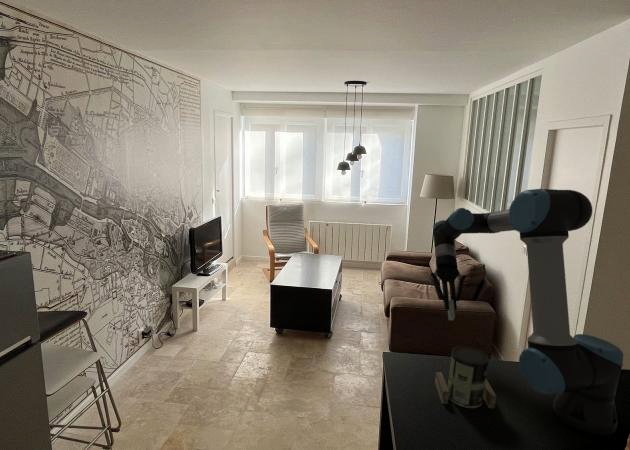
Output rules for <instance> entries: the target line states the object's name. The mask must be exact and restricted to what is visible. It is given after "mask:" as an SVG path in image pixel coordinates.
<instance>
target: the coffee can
mask: <svg viewBox="0 0 630 450" xmlns="http://www.w3.org/2000/svg"><path fill="white" fill-rule="evenodd" d="M489 362H490V357H489V355H488V354H486V352H484V351H482V350H480V349H478V348H476V347H472V346H466V345H464V346H463V345H460V346H455V347H453V348H452V349H451V358H450V366H449V373H448V383H447V387H448V390H449V397H448V400H450V401H451V402H452V403H453V404H455V405H457V406H459V407H461V408H466V409H477V408H480V407H481V406H482V405H483V402H484V401H483V400H484V398H483V395H484V388H485V381H486V379H487V374H488V373H487V372H488V365H489Z"/></svg>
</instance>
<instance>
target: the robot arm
mask: <svg viewBox="0 0 630 450" xmlns="http://www.w3.org/2000/svg"><path fill="white" fill-rule="evenodd" d="M592 216H593V205H592V202H591V200H590V199H589V198H588V197H587V196H586V195H585V194H583V193H581V192H580V191H577V190H574V189H552V188H551V189H549V188H535V189H526V190H523V191H521V192H520V193H519V194H517V195H516V196H515V197H514V200H513V199H512V201H511V204H510V206H509V208H508V209H503V210H498V211H497V210H496V211H492V212H491V211H490V212H485V213H483V212H482V213H476V212H475V213H473V212H472V211H470V210H469V209H466V208H465V207H459V208H456V210H455V211H453V212H451V214H450V215H449V216H448V217H447V218H446V219H445V220H444V219H442V220H438V221H436V222H435V223H434V224H433V228H432V229H433V231H432V236H433V243H434V255H435V272H431V273H430V274H429V279H430V280H431V281H432V284H433V287H434V290H435V293H436V295H437V299H438V300H439V301H442V303H443V304H444V310H445V311H447V316H448V321H453V322H454V320H455V318H456V314H455V312H456V310H457V309H458V306H457V302H459V301H461V299H462V295H463V287H464V282H465V280H466V279H467V275H465V274H461V273H460V270H459V269H458V259H457V252H456V250H457V249H456V242H455V241H456V240H457V239H458V238H459V237H460V236H461V235H462V234H464V235H465V234H497V233H501V232H510V231H516V232H518V233H519V239H520V241H522V243H524V244H525V246H526V253H527V266H528V281H529V293H530V294H529V295H530V304H531V306H530V307H531V318H532V319H531V320H532V323H531V324H532V334H530V335H529V336H528V337H527V338H526V339H527V348H526V349H523V350H522V351H521V353H520V354H519V358H518V363H519V368H520V372H521V374H522V376H523V378H524V379H525V381H526V382H527V383H528V384H529V386H530V387H531V388H533V390H535V391H536V392H538V393H541V394H544V395H556V396H555V397H554V399H553V404H552V408H553V411H554V413H555V414H556V415H557V416H558V417H559V418H560V419H561V420H562V421H563V422H565V423H566V424H568V425H570V426H571V427H573V428H575V429H578V430H580V431H582V432H585V433H589V434H592V435H598V436H608V435H612V434H614V433H615V432H616V431H617V428H618V423H619V422H618V420H619V419H618V414H617V410H616V403H615V397H616V393H617V389H618V385H619V380H620V376H621V373H622V368H623V366H624V364H623V362H624V353H623V351H622V349H621V348H619V347H618V346H617V345H615V344H614V343H612V342H609V341H607V340H606V339H603V338H599V337H596V336H592V335H590V334H583V333H577V334H574V336H572V335H571V329H570V317H569V306H568V294H567V291H568V290H567V282H566V269H565V256H564V243H565V242H566V241H567V240H568V239H569V238H570V235H569V232H572V231H577V230H579V229H581V228H583V227H585V226H586V225H587V224H588V223H589V222H590V220H591V218H592ZM457 278H458V286H457V291H456V284H455V282H456V279H457ZM439 280H440V281H441V285H442V287H441V285H440V282H439ZM448 285H449V287H448ZM449 294H450V296H449Z"/></svg>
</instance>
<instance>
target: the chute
mask: <svg viewBox="0 0 630 450" xmlns="http://www.w3.org/2000/svg"><path fill="white" fill-rule="evenodd" d="M434 385H435V388H436V391H437V393H438V396H439V399H440V401H441V404H442V405H443V404H444V405H448V404H449V398H448V397H449V390H448V384H447V382H446V380H445V378H444V375H443V373H442V372H440V371H436V372H435V379H434ZM496 399H497V395H496V393H495V392H494V390H493V388H492V386H491V385H490V383H489V381H488V379H487V378H486V381H485V388H484V395H483V400H484V402H485V404H486V405H487V408H489V409H495V408H496Z"/></svg>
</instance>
